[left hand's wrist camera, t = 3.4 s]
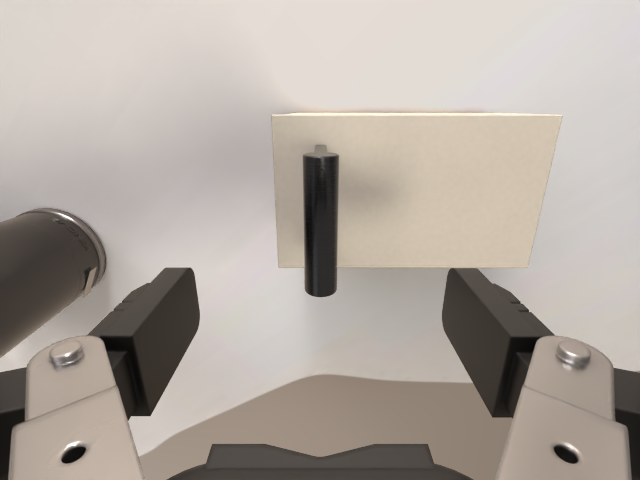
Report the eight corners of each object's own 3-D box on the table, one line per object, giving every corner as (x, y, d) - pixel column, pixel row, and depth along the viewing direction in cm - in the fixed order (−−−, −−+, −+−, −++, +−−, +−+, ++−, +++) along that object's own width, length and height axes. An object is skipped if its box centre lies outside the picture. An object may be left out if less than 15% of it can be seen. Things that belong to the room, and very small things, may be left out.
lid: (279, 263, 26) (263, 324, 18) (272, 114, 22) (249, 118, 15) (521, 263, 26) (600, 324, 18) (554, 114, 22) (669, 118, 15)
